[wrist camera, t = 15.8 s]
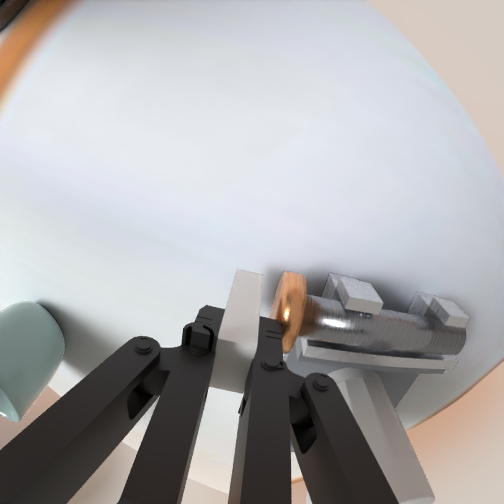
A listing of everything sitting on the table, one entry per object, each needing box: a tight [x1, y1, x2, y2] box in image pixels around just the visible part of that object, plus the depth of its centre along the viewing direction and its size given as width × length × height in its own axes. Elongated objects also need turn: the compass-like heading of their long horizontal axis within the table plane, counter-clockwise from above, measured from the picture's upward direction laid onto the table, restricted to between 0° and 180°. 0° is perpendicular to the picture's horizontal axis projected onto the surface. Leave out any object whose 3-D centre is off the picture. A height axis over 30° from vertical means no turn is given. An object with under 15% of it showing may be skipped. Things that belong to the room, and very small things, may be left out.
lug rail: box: [301, 273, 470, 369], centre depth 16 cm, size 4×12×4 cm, turn 78°
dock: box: [284, 337, 445, 452], centre depth 20 cm, size 12×12×3 cm
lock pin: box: [270, 271, 466, 355], centre depth 15 cm, size 13×4×4 cm, turn 78°
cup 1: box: [0, 301, 65, 422], centre depth 17 cm, size 8×8×10 cm
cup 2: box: [306, 368, 435, 504], centre depth 15 cm, size 8×8×12 cm
